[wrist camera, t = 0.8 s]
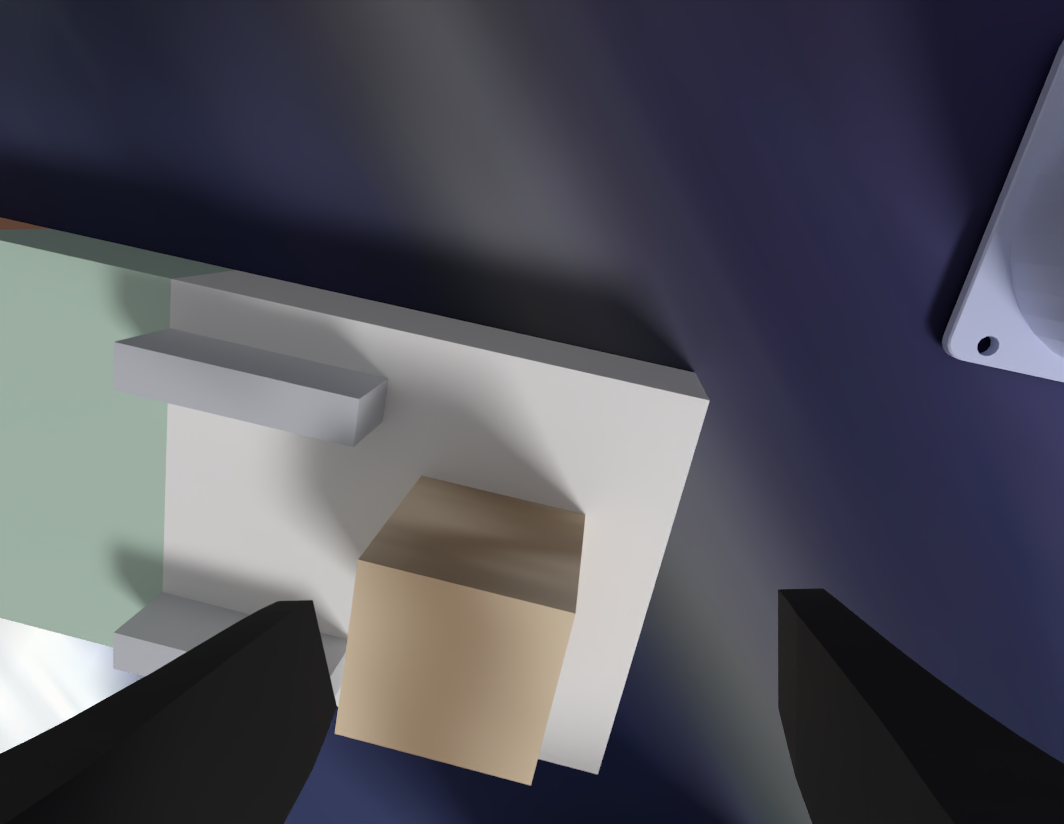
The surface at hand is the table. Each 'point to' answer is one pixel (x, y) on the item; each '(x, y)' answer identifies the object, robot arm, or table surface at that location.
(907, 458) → the table surface
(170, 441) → the channel deck
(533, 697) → the maple block
